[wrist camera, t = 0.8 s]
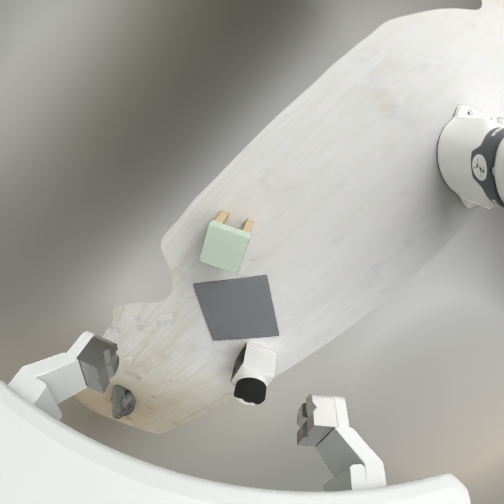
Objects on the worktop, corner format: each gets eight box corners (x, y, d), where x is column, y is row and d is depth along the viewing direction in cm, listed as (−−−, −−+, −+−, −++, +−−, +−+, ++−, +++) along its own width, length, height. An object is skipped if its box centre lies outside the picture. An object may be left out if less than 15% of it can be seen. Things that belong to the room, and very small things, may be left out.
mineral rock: (130, 409, 78) (120, 430, 69) (105, 391, 76) (93, 412, 67) (146, 401, 73) (135, 425, 64) (118, 381, 71) (105, 404, 62)
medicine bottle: (246, 340, 56) (238, 383, 45) (277, 351, 57) (274, 395, 46) (235, 360, 59) (225, 401, 48) (263, 370, 60) (258, 412, 49)
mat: (266, 275, 49) (266, 276, 49) (278, 334, 54) (278, 335, 54) (193, 283, 52) (193, 284, 51) (213, 339, 57) (213, 340, 57)
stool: (221, 209, 45) (208, 224, 38) (255, 220, 45) (249, 238, 38) (212, 240, 48) (198, 260, 40) (244, 252, 48) (237, 274, 41)
